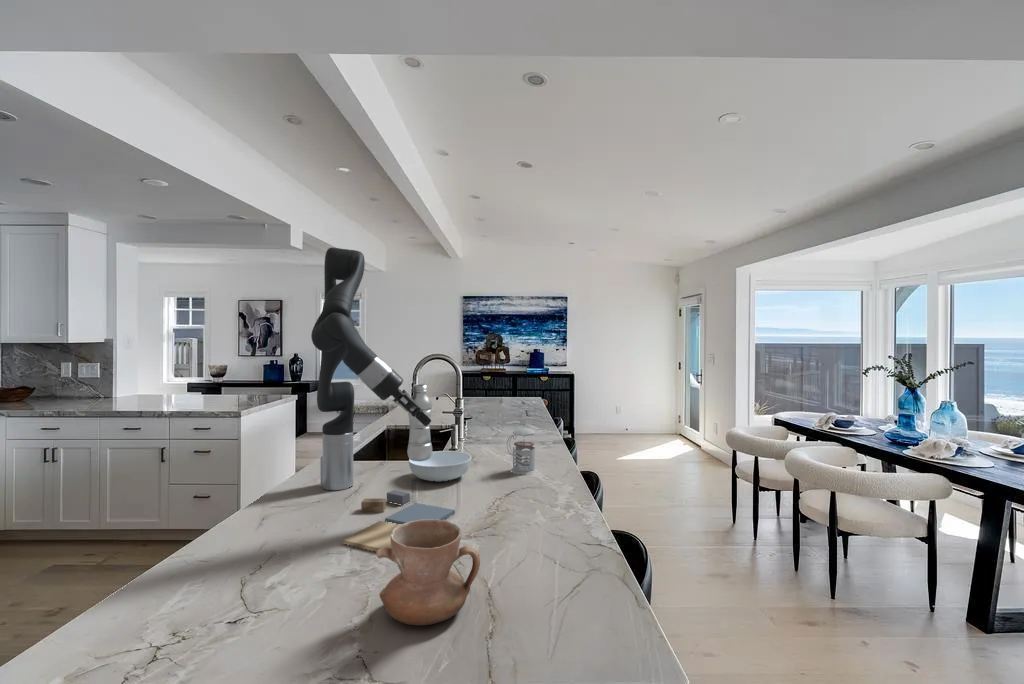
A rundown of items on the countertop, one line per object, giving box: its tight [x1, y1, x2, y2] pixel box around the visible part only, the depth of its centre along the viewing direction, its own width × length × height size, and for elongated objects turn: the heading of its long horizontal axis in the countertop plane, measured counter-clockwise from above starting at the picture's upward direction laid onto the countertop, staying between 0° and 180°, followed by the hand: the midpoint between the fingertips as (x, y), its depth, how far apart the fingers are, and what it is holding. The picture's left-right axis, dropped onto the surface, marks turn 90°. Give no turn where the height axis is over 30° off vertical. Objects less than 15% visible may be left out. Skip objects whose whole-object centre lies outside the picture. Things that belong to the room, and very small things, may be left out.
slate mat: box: [384, 502, 456, 524], centre depth 133 cm, size 13×13×1 cm
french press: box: [506, 400, 538, 475], centre depth 179 cm, size 10×12×25 cm
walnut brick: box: [360, 498, 387, 513], centre depth 139 cm, size 6×3×3 cm, turn 90°
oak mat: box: [341, 520, 399, 553], centre depth 120 cm, size 13×13×1 cm
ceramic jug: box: [376, 519, 481, 626], centre depth 89 cm, size 18×14×14 cm
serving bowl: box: [408, 450, 472, 483], centre depth 170 cm, size 21×21×7 cm
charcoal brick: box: [386, 489, 411, 506], centre depth 145 cm, size 6×3×3 cm, turn 61°
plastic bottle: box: [406, 383, 433, 461], centre depth 133 cm, size 6×7×20 cm
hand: (426, 421), depth 133 cm, fingers closed on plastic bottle, 6 cm apart
